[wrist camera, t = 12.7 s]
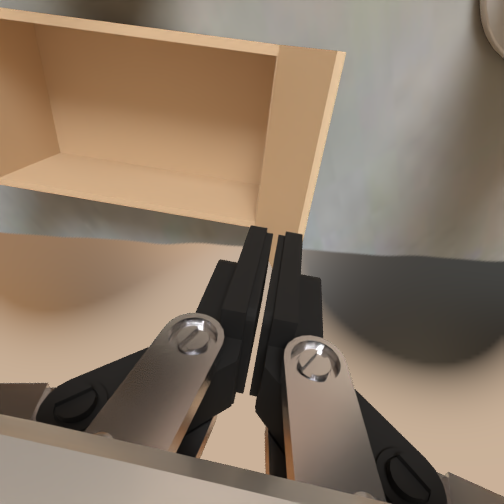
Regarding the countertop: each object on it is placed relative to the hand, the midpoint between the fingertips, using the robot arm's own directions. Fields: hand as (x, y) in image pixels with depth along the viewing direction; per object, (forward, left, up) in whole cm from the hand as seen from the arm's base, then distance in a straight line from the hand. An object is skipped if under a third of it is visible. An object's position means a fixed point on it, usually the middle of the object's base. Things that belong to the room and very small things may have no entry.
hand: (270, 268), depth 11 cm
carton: (+13, 0, -24) cm, 28 cm away
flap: (0, 0, -11) cm, 11 cm away
